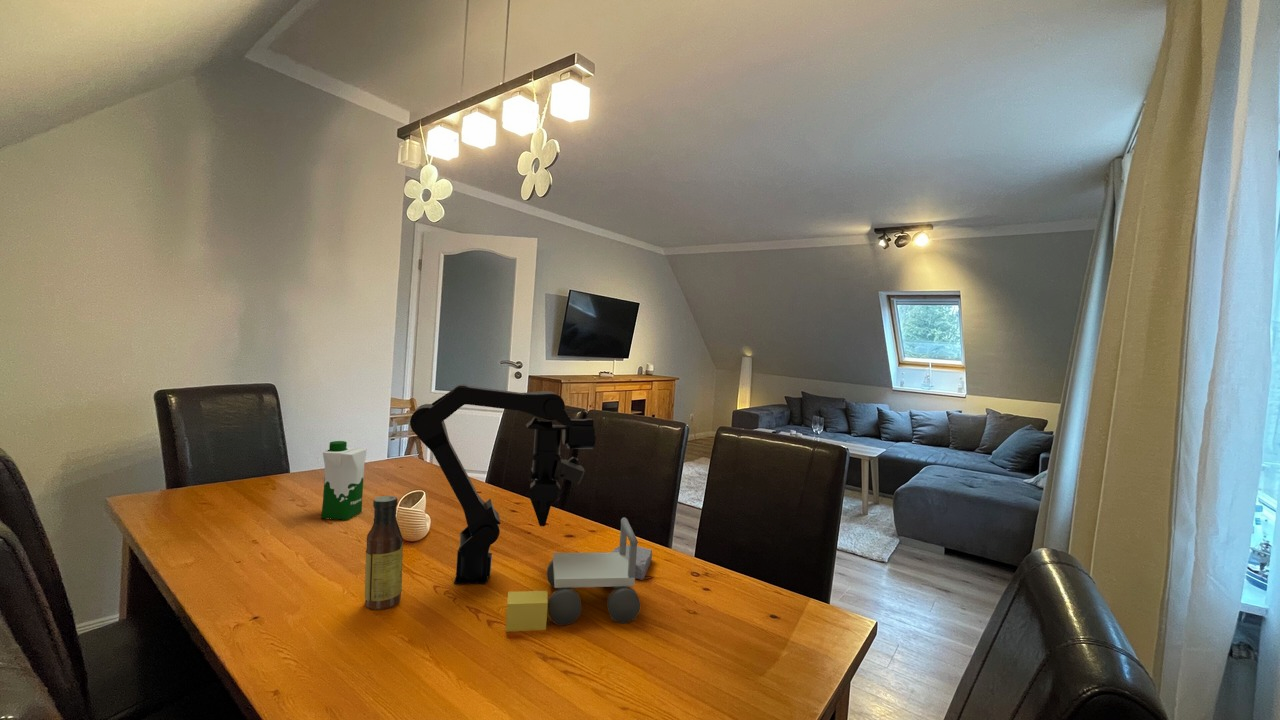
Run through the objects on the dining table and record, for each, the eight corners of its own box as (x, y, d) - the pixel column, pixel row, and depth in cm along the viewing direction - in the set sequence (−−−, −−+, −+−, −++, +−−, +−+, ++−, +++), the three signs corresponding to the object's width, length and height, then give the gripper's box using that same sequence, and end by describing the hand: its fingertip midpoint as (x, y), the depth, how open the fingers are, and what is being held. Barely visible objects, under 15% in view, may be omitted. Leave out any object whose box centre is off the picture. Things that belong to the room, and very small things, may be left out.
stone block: (603, 584, 115) (647, 581, 113) (600, 562, 115) (644, 559, 113) (614, 564, 126) (654, 562, 125) (612, 544, 126) (652, 542, 125)
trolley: (547, 625, 92) (552, 543, 92) (546, 584, 108) (550, 513, 108) (639, 622, 96) (644, 542, 95) (625, 583, 111) (630, 514, 111)
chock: (505, 632, 90) (507, 604, 90) (506, 618, 94) (508, 591, 94) (545, 630, 91) (547, 602, 91) (545, 617, 96) (547, 590, 96)
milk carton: (335, 509, 144) (339, 438, 144) (367, 511, 144) (371, 441, 144) (315, 519, 136) (319, 444, 135) (349, 522, 135) (353, 447, 135)
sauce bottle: (408, 599, 98) (414, 496, 98) (382, 614, 92) (388, 505, 92) (381, 592, 100) (387, 491, 100) (354, 606, 95) (360, 499, 94)
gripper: (587, 459, 106) (582, 534, 106) (580, 441, 124) (575, 505, 124) (532, 457, 103) (527, 534, 104) (533, 440, 122) (529, 505, 122)
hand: (542, 518), depth 114 cm, fingers open, 9 cm apart
